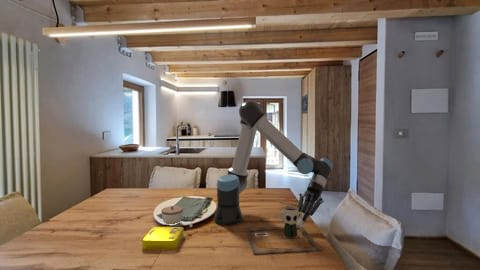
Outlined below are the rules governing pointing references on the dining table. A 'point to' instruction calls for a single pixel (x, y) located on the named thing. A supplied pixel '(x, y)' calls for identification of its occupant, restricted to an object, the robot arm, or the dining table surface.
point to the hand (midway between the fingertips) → (298, 226)
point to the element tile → (163, 238)
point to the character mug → (290, 220)
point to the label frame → (314, 244)
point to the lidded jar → (172, 214)
